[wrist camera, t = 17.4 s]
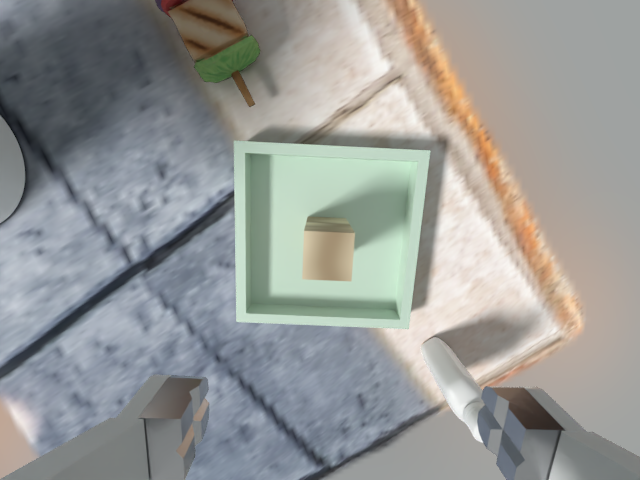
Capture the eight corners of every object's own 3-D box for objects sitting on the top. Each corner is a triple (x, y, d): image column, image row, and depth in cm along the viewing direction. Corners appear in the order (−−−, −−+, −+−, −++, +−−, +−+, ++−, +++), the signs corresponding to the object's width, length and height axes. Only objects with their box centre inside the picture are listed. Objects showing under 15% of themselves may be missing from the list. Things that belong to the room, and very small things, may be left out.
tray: (243, 309, 34) (236, 321, 31) (242, 143, 30) (233, 140, 27) (400, 315, 34) (408, 329, 32) (419, 152, 31) (430, 150, 28)
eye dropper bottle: (456, 333, 35) (526, 413, 23) (457, 375, 36) (523, 471, 24) (419, 336, 35) (469, 419, 23) (420, 378, 36) (469, 476, 25)
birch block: (306, 253, 32) (302, 279, 24) (307, 216, 31) (304, 230, 23) (343, 255, 32) (351, 281, 24) (345, 218, 31) (354, 233, 24)
